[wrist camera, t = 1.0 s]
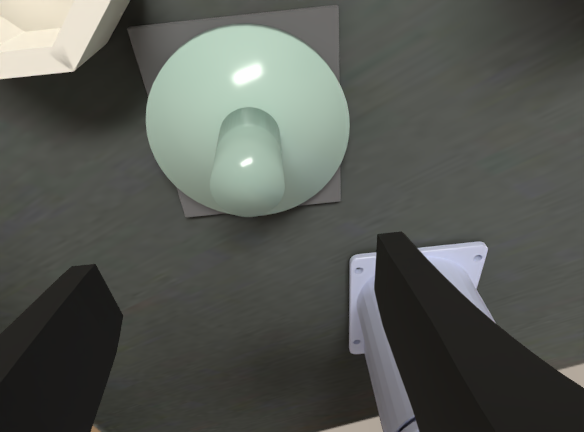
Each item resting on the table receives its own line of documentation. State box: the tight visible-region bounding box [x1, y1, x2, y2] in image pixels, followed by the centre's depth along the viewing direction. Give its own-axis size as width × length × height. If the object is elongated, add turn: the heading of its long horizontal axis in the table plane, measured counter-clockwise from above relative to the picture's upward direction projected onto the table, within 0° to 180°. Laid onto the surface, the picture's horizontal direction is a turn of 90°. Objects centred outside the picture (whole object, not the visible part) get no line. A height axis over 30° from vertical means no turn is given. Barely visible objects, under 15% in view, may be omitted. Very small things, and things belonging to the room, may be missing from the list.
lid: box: [146, 23, 350, 217], centre depth 16 cm, size 9×9×5 cm
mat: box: [127, 5, 341, 217], centre depth 18 cm, size 9×8×1 cm
